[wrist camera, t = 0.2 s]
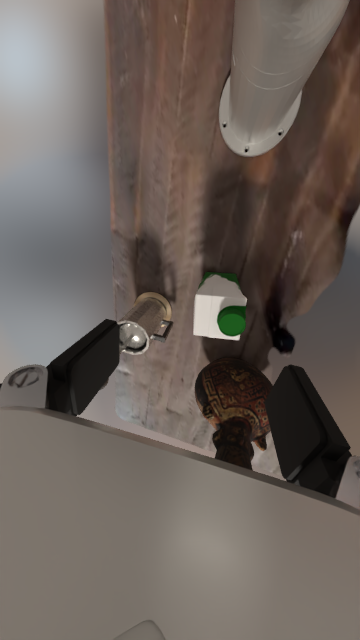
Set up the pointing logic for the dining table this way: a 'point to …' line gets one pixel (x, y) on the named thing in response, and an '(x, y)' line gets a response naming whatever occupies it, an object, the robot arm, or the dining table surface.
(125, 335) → the ball-topped lever
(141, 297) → the cork coaster
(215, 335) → the milk carton
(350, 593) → the robot arm
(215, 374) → the ceramic vessel
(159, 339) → the white mug
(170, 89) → the dining table surface
